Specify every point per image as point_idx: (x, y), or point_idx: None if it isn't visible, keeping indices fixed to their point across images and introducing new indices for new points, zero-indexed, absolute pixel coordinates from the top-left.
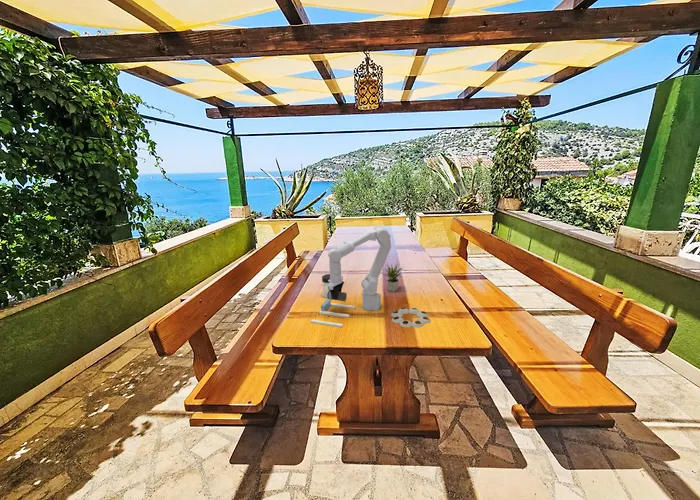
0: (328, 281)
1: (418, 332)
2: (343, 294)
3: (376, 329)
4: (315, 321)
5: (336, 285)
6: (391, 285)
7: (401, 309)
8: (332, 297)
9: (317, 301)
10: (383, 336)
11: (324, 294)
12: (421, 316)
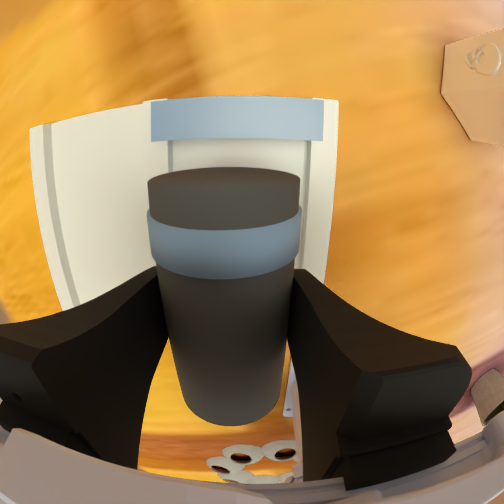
0: (5, 449)
1: (194, 474)
2: (197, 411)
3: (150, 417)
4: (32, 160)
5: (324, 393)
6: (482, 404)
7: None
8: (140, 275)
9: (372, 12)
10: None
11: (457, 51)
12: (279, 479)
